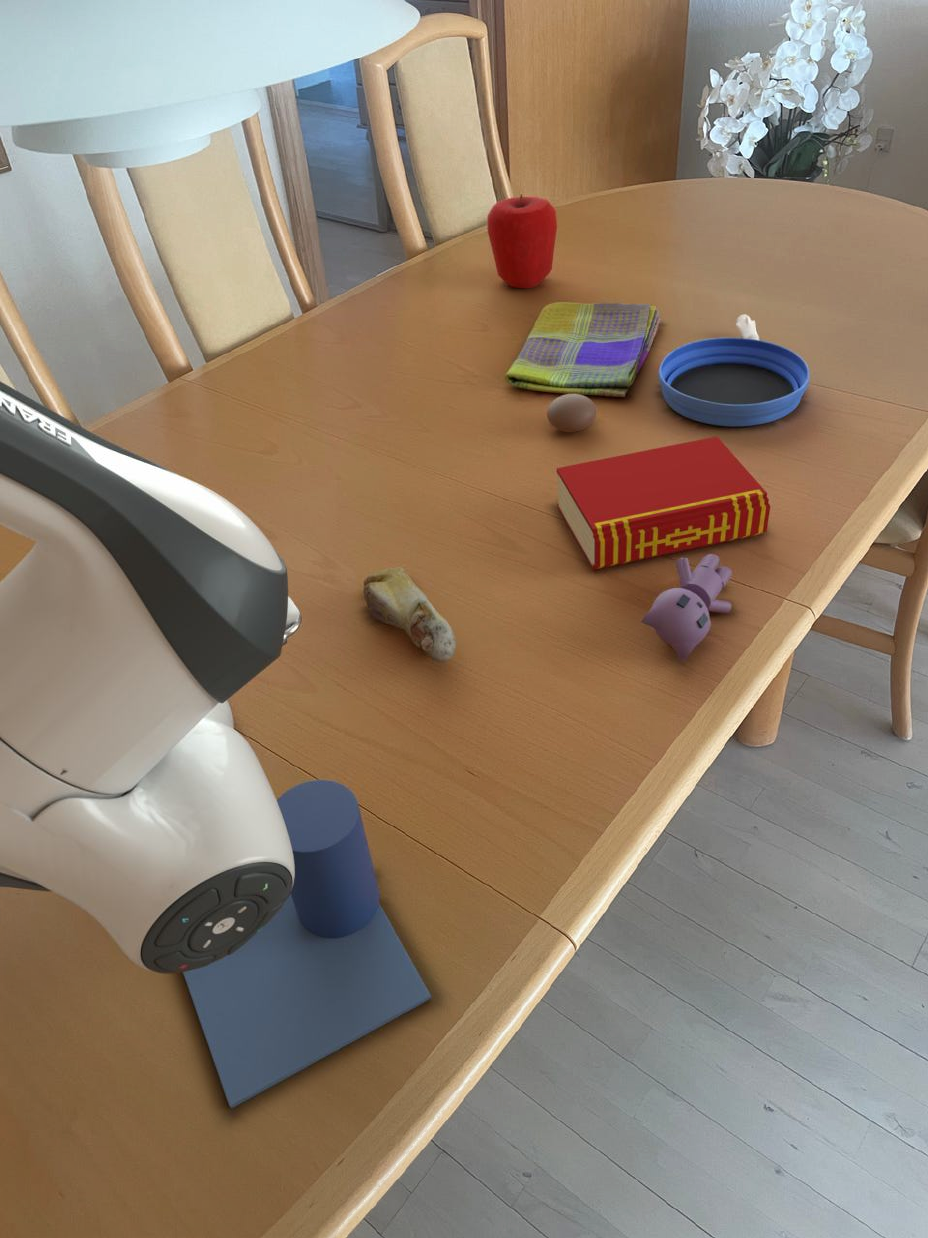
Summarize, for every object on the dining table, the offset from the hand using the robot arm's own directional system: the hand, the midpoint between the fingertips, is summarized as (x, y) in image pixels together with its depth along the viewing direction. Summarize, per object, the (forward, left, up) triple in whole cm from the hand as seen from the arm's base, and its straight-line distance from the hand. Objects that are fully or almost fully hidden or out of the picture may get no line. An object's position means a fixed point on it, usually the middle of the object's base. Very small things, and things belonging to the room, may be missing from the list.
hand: (81, 572), depth 62 cm
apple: (+78, +76, -25) cm, 112 cm away
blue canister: (+8, -14, -25) cm, 29 cm away
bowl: (+79, +28, -25) cm, 88 cm away
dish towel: (+71, +49, -25) cm, 90 cm away
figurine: (+48, -3, -25) cm, 54 cm away
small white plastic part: (+91, +39, -25) cm, 102 cm away
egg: (+59, +33, -25) cm, 72 cm away
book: (+55, +11, -25) cm, 61 cm away
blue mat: (+3, -17, -25) cm, 30 cm away
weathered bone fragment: (+25, +10, -25) cm, 37 cm away
